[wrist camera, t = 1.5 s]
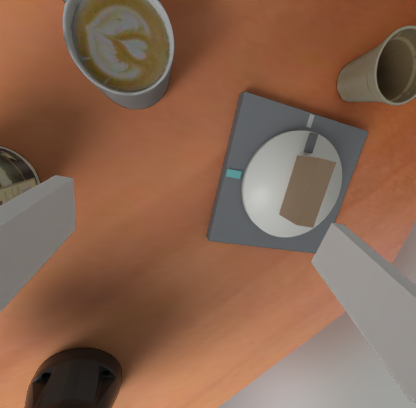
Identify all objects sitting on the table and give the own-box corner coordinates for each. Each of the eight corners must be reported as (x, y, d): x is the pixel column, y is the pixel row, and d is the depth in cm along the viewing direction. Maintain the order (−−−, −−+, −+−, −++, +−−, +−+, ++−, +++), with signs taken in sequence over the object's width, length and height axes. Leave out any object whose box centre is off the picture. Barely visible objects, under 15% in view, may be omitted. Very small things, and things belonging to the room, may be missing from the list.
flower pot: (331, 120, 38) (378, 115, 30) (322, 61, 35) (372, 38, 27) (376, 101, 39) (433, 91, 31) (371, 43, 36) (433, 15, 28)
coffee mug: (183, 84, 32) (193, 61, 22) (126, 123, 32) (113, 115, 22) (121, -19, 27) (103, -104, 18) (54, 25, 27) (0, -37, 18)
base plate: (315, 249, 46) (323, 254, 43) (206, 236, 39) (209, 241, 37) (358, 131, 40) (370, 131, 38) (239, 94, 34) (245, 91, 32)
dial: (315, 239, 42) (342, 255, 36) (229, 227, 37) (243, 244, 31) (349, 144, 38) (386, 145, 32) (257, 117, 33) (280, 112, 27)
